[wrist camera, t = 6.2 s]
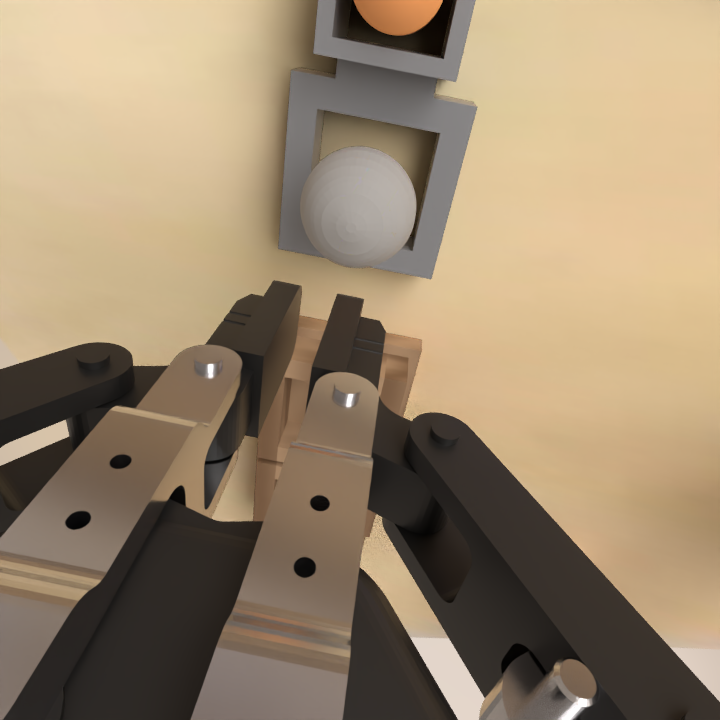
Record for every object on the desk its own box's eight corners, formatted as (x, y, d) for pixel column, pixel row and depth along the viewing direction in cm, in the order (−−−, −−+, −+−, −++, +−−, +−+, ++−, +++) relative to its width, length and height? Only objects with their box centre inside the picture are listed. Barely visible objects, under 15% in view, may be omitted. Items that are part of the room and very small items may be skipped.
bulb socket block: (520, -81, 22) (543, -109, 18) (430, 263, 32) (431, 297, 28) (317, -121, 22) (292, -158, 18) (287, 235, 32) (267, 264, 28)
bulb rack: (421, 339, 35) (421, 375, 31) (370, 524, 47) (366, 566, 43) (271, 309, 35) (252, 342, 31) (257, 501, 47) (243, 541, 43)
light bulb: (331, 221, 31) (297, 287, 23) (322, 127, 28) (279, 163, 20) (418, 218, 30) (415, 285, 22) (417, 121, 27) (414, 156, 19)
